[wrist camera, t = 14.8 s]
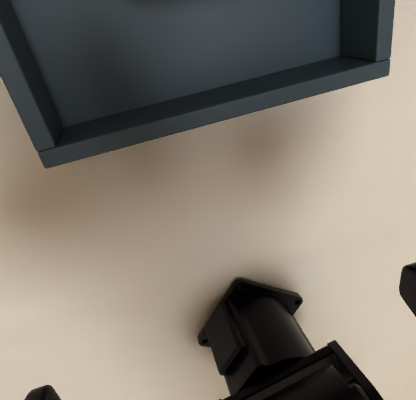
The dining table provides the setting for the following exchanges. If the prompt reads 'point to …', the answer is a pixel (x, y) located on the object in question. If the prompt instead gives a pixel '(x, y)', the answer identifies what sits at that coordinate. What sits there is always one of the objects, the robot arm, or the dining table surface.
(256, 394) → the robot arm
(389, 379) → the dining table surface
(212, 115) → the tray
